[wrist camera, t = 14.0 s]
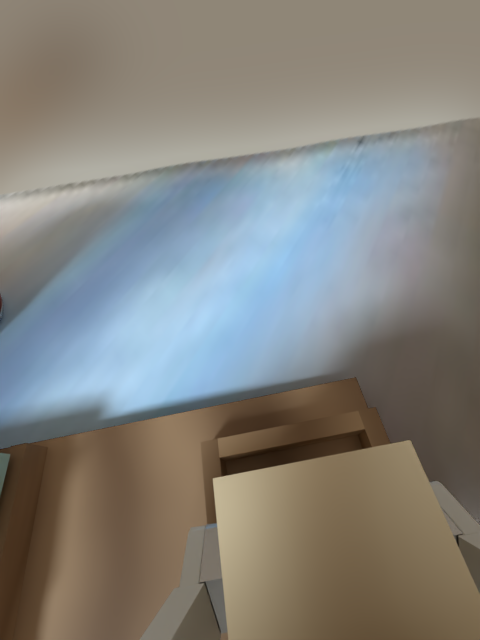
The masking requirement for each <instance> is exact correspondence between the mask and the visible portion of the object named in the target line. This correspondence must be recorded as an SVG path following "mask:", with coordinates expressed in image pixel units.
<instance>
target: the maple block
mask: <svg viewBox="0 0 480 640" xmlns="http://www.w3.org/2000/svg"><path fill="white" fill-rule="evenodd" d="M213 487H214V498H215V508H216V518H217V528H218V539H219V549H220V559H221V570H222V580H223V590H224V600H225V611H226V621H227V631H228V640H480V594H479V592H478V589H477V587H476V585H475V583H474V580H473V578H472V576H471V574H470V572H469V569H468V567H467V565H466V563H465V560H464V558H463V556H462V554H461V551H460V549H459V547H458V545H457V543H456V540H455V538H454V536H453V534H452V531H451V529H450V527H449V525H448V523H447V520H446V518H445V516H444V514H443V511H442V509H441V507H440V505H439V503H438V500H437V498H436V496H435V494H434V491H433V489H432V487H431V485H430V483H429V480H428V478H427V476H426V474H425V471H424V469H423V467H422V465H421V463H420V460H419V458H418V456H417V454H416V451H415V449H414V447H413V445H412V443H411V440H407V441H402V442H397V443H392V444H387V445H382V446H376V447H371V448H366V449H361V450H356V451H351V452H346V453H341V454H335V455H330V456H325V457H320V458H315V459H310V460H305V461H300V462H294V463H289V464H284V465H279V466H274V467H269V468H264V469H259V470H253V471H248V472H243V473H238V474H233V475H228V476H223V477H218V478H213Z"/></svg>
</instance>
